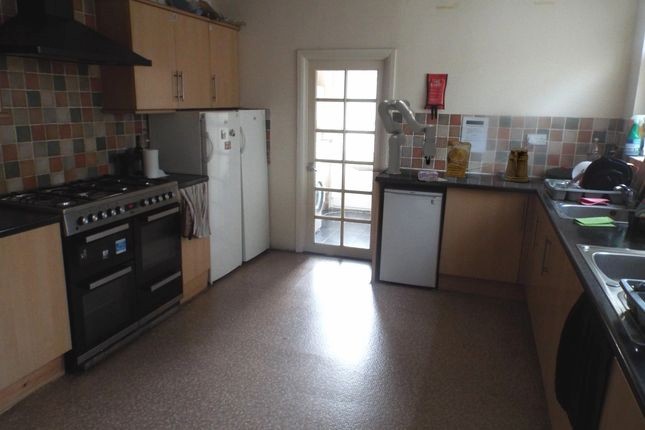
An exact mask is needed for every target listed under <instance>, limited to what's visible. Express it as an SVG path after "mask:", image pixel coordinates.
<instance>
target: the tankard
mask: <svg viewBox="0 0 645 430" xmlns="http://www.w3.org/2000/svg"><path fill="white" fill-rule="evenodd" d="M528 152H529V150H528V149H527V148H525V147H524V148H523V147H513V148H511V149H510V152H509V155H508V162H507V165H506V170H505V174H504V175H503V181H506V182H512V183H527V182H528V181H529V178H530V177H529V174H528V171H529V169H528V164H529V163H528V161H529V154H528Z"/></svg>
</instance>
